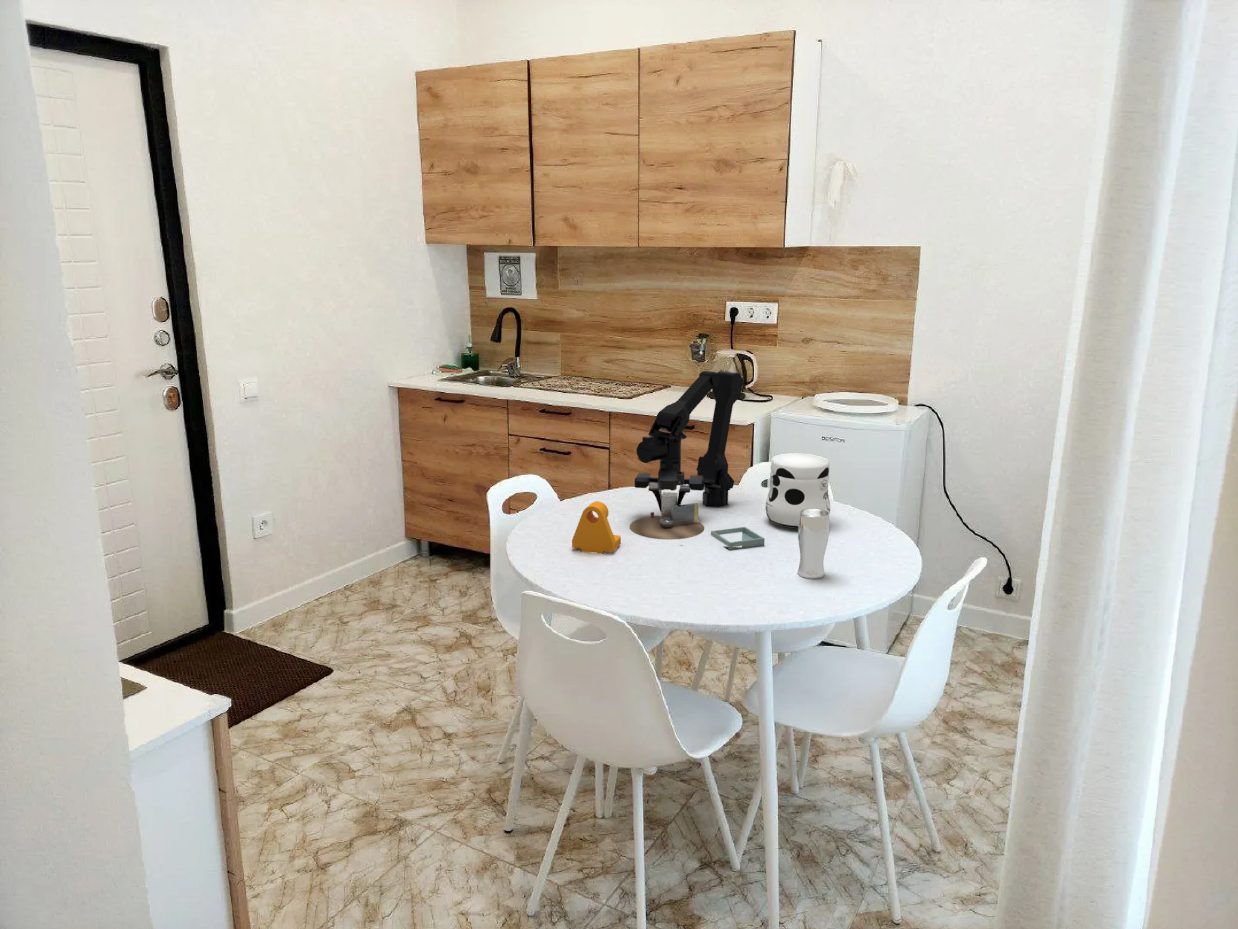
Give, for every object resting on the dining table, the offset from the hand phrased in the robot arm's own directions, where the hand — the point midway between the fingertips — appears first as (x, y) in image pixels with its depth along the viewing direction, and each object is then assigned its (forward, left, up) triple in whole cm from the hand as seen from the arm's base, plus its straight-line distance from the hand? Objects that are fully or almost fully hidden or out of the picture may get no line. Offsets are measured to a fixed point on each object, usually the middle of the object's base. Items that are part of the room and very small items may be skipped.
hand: (669, 512), depth 238 cm
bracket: (+26, +12, -3) cm, 28 cm away
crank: (0, +6, -2) cm, 6 cm away
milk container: (-32, +13, -3) cm, 35 cm away
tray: (-9, +21, -3) cm, 23 cm away
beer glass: (-14, +47, -3) cm, 49 cm away
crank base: (+4, +6, -3) cm, 8 cm away
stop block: (0, 0, -2) cm, 2 cm away
